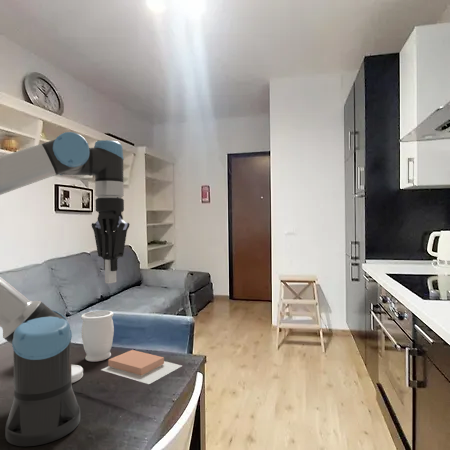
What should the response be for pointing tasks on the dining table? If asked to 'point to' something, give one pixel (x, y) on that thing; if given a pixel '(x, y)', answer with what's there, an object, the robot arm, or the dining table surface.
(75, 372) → the white bowl
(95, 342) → the jar
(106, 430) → the dining table surface
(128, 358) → the tile
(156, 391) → the dining table surface
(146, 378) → the mat
